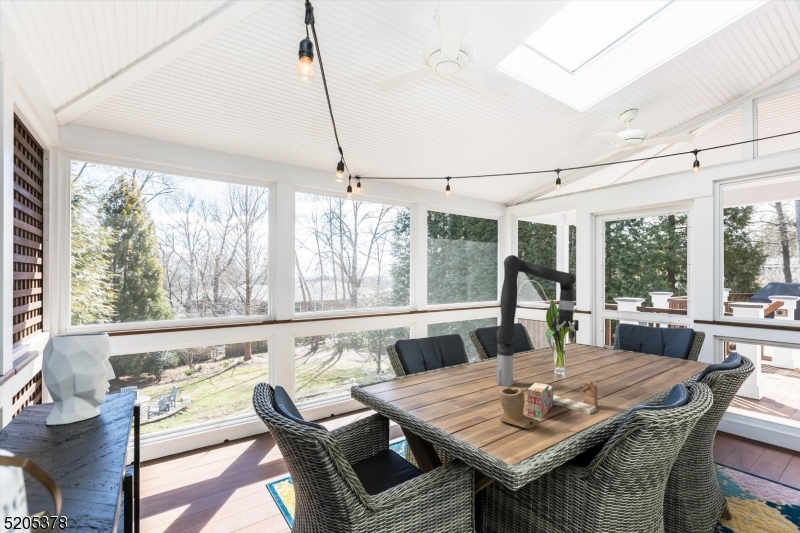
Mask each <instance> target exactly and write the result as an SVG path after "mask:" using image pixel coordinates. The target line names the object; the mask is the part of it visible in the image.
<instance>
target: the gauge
mask: <svg viewBox="0 0 800 533" xmlns="http://www.w3.org/2000/svg"><path fill="white" fill-rule="evenodd" d="M583 386H584V387H583V389H582V393H583V396H584V397H583V401H584V402H583V403H586V404H590V405H593V406H596V408H598V401H599V400H598V399H599V398H598V395H599V394H598V389H599V388H598V383H595V382H593V381H587V382H585V383H583Z"/></svg>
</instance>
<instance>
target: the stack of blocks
mask: <svg viewBox="0 0 800 533" xmlns="http://www.w3.org/2000/svg"><path fill="white" fill-rule="evenodd" d="M553 396H554V386H553V385H549V384H545V383H541V382H534V383H533V384H532V385H531V386H529V387H528V388H527V416H528V417H532V418H533V417H535V418H539V419H542V418H543V417H544V416H545V415H546V414H547V413H548V412H549V410H550V409H551V408H552V407H553V406H554V404H553Z"/></svg>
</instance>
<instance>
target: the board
mask: <svg viewBox="0 0 800 533" xmlns="http://www.w3.org/2000/svg"><path fill="white" fill-rule="evenodd" d="M553 405H554V406H558V407H562V408H565V409H569V410H573V411H577V412H580V413H584V414H587V415H591V414H593V413H594V412H595V411H597V407H596V406H593V405H590V404H586V403H584V402H581V401H577V400H574V399H570V398H567V397H562V396H559V395H555V394H553Z"/></svg>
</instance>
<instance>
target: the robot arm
mask: <svg viewBox="0 0 800 533" xmlns="http://www.w3.org/2000/svg"><path fill="white" fill-rule="evenodd" d="M503 268H504V269H503V270H504V272H503V274H504V275H503V276H504V277H503V278H504V279H503V283H502V287H501V292H500V295H501V296H500V304H499V305H500V315H501V318H500V326H499V328H498V330H497V332H496V349H497V350H496V351H497V352H496V355H497V357H496V359H497V360H496V363H497V364H496V366H495V382H496V383H497V385H499V386H506V387H510V386H514V381H515V380H514V379H515V378H514V372H515V371H514V370H515V368H514V367H515V366H514V363H515V362H514V361H515V360H514V359H515V358H514V355H515V353H514V352H515V351H514V340H515V336H516V335H515V320H516V319H515V318H516V313H517V305H518V295H519V294H518V277H519V273H524V274H529V275H531V276H534V277H536V278H539V279H543V280H547V281H550V282H555V283H558V284H559V286H560V287H559V289H560V291H559V302H558V318H554V317H553V318H552V320H551V322H552V323H551V329H552V330H554V337H555V338H559V335H560V332H559V331H560V329H562V327H563V328H569V329H570V333H569V334H570V338H571V339H574V338H575V335H576V334H575V332H579V327H580V326H579V323H580V322H579V319H574V308H575V307H574V290H573V288H574V284H575V283H576V281H577V280H576V276H575V275H573V274H572V273H570V272H564V271H563V270H562V271H561V270H557V269H554V268H551V267H547V266H543V265H539V264H534V263H530V262H527V261H524V260H522V259H520V258H519V257H517V256H516V255H513V254H511V255H507V257H506V258H505V259H504V260H503Z"/></svg>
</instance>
